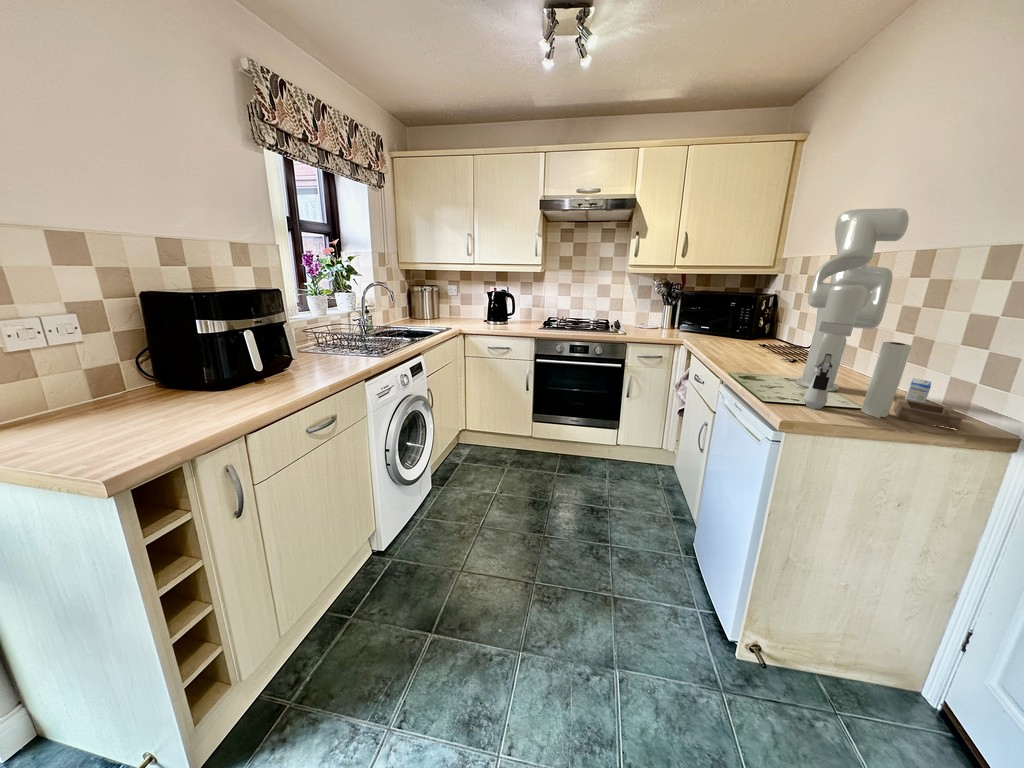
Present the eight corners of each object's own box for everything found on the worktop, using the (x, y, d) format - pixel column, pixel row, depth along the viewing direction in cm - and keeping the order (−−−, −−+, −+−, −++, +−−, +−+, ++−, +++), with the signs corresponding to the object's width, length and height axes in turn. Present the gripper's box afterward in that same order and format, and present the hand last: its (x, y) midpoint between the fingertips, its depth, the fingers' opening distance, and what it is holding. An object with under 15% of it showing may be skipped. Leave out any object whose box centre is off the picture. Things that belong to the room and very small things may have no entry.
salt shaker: (828, 411, 121) (841, 369, 117) (807, 409, 122) (819, 367, 118) (818, 405, 126) (830, 364, 122) (798, 402, 127) (809, 362, 123)
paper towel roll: (866, 409, 124) (889, 340, 118) (891, 416, 119) (916, 344, 113) (854, 412, 121) (877, 341, 115) (879, 419, 116) (904, 346, 110)
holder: (893, 408, 126) (897, 397, 125) (947, 418, 119) (951, 407, 118) (898, 419, 117) (902, 407, 116) (957, 430, 110) (962, 418, 109)
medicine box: (903, 403, 132) (912, 377, 130) (922, 407, 129) (931, 381, 127) (901, 408, 127) (911, 382, 124) (921, 412, 124) (931, 385, 121)
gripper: (819, 325, 125) (805, 378, 130) (818, 330, 112) (802, 389, 117) (850, 328, 121) (834, 383, 126) (853, 333, 108) (835, 395, 113)
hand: (819, 386), depth 121 cm, fingers open, 9 cm apart
